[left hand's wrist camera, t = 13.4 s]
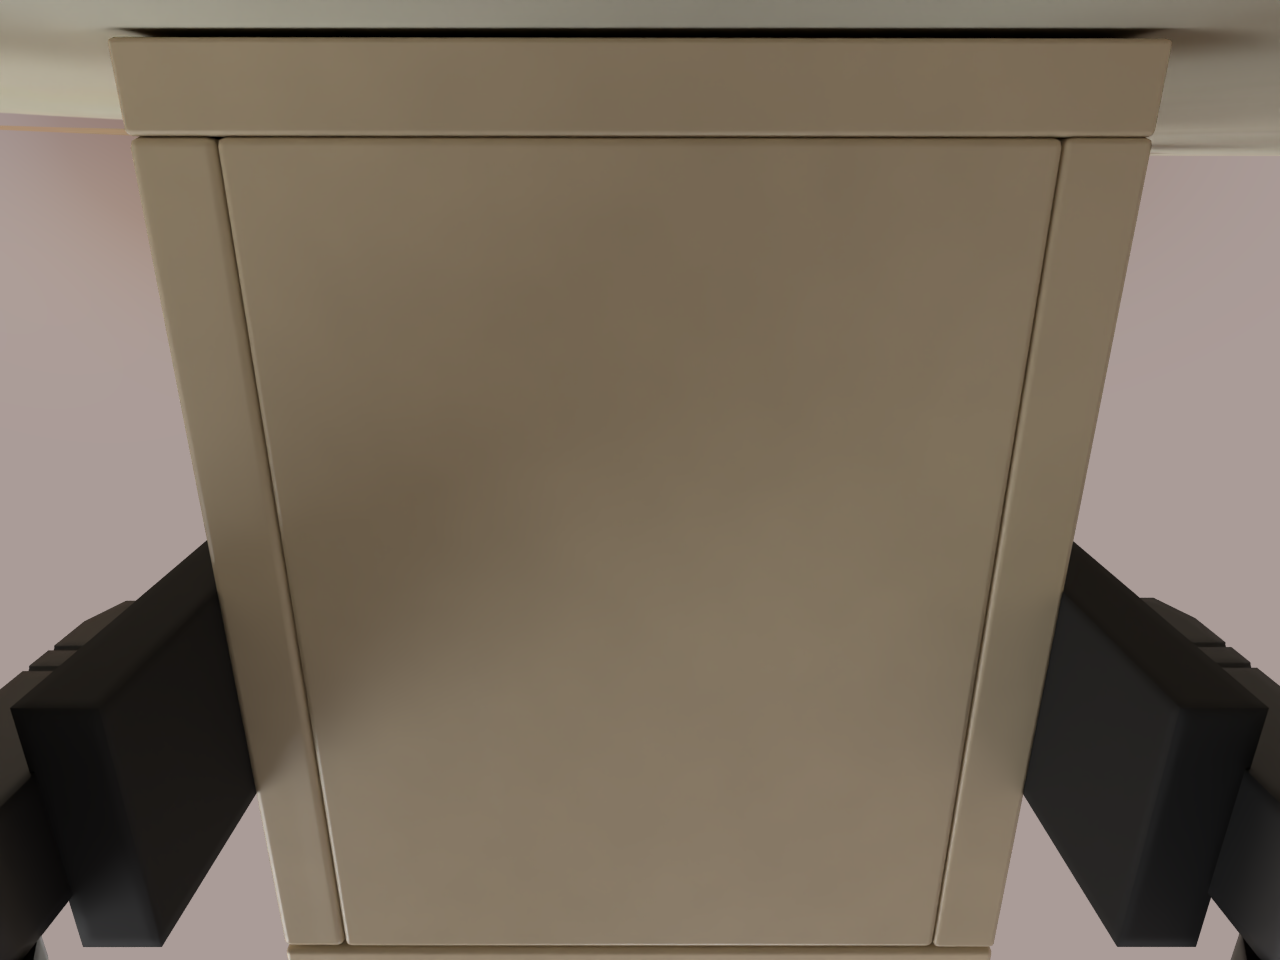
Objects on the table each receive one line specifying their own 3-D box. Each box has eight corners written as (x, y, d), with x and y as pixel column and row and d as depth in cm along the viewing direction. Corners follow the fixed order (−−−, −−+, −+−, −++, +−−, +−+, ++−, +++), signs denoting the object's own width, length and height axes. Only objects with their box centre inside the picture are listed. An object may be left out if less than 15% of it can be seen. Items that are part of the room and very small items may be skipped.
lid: (804, 533, 23) (785, 783, 26) (474, 532, 23) (492, 783, 26) (994, 951, 11) (917, 1338, 14) (283, 950, 11) (360, 1338, 14)
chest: (840, 120, 19) (808, 539, 23) (439, 120, 19) (470, 539, 23) (1176, 36, 7) (994, 948, 11) (104, 36, 7) (282, 948, 11)
